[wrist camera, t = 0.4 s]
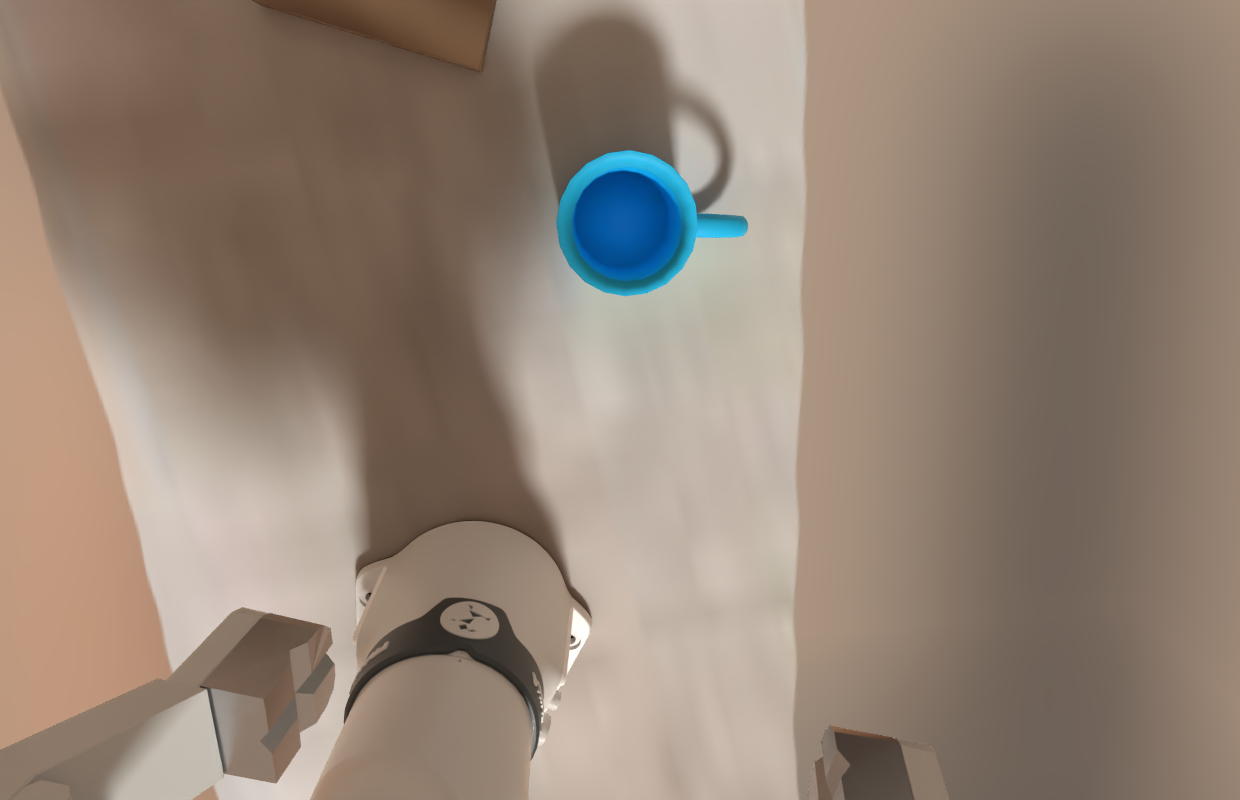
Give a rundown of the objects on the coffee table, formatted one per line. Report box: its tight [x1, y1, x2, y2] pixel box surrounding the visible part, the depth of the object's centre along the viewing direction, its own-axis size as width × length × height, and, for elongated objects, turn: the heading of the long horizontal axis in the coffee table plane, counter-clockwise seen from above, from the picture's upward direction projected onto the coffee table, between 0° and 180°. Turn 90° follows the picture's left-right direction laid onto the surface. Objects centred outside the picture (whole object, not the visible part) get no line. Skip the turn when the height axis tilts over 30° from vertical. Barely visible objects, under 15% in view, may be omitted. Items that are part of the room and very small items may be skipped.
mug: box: [557, 150, 748, 296], centre depth 44 cm, size 12×8×8 cm
